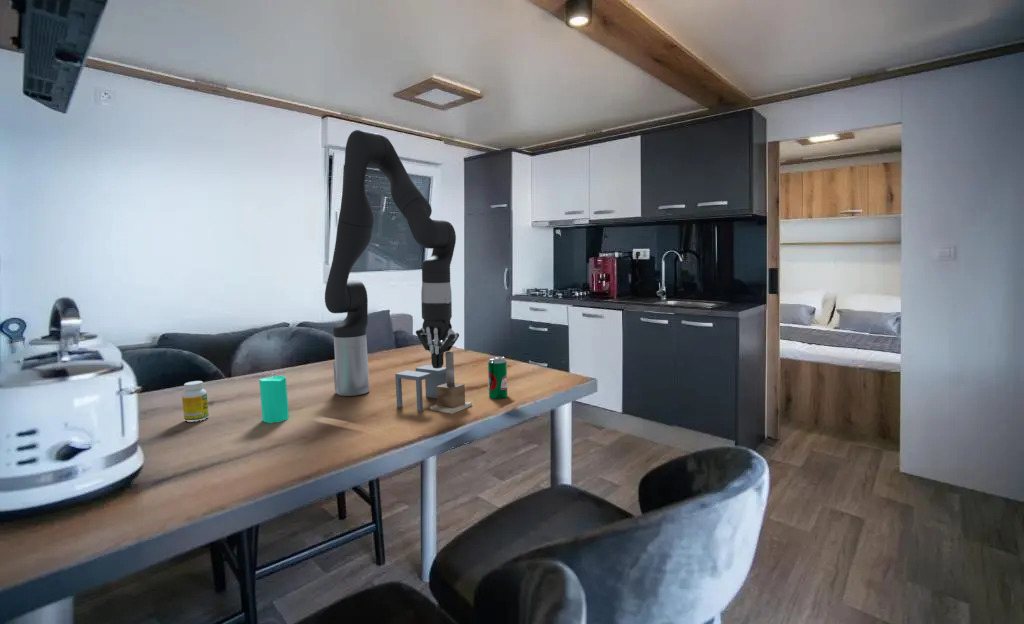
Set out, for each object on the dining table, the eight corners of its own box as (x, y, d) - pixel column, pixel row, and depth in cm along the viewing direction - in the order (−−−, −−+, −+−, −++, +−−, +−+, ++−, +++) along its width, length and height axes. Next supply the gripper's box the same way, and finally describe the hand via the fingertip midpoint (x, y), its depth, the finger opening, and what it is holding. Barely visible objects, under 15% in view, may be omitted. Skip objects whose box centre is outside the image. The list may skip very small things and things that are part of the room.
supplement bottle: (185, 418, 130) (182, 381, 129) (210, 415, 133) (206, 379, 132) (183, 424, 125) (179, 386, 124) (208, 421, 128) (204, 383, 127)
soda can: (505, 404, 136) (504, 360, 134) (487, 403, 137) (485, 359, 135) (509, 399, 141) (508, 356, 139) (491, 398, 142) (490, 356, 140)
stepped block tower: (430, 409, 128) (428, 354, 126) (450, 401, 135) (448, 348, 133) (452, 413, 124) (450, 356, 123) (471, 405, 131) (470, 350, 129)
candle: (262, 424, 124) (259, 376, 123) (262, 418, 129) (258, 371, 128) (289, 420, 127) (286, 373, 125) (288, 414, 132) (284, 368, 131)
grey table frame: (364, 407, 137) (362, 370, 135) (402, 394, 148) (400, 360, 147) (442, 422, 122) (440, 381, 121) (477, 407, 134) (475, 369, 133)
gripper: (406, 300, 129) (408, 367, 131) (447, 303, 122) (448, 374, 124) (426, 297, 135) (427, 362, 137) (466, 300, 128) (467, 368, 130)
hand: (437, 367), depth 130 cm, fingers closed
